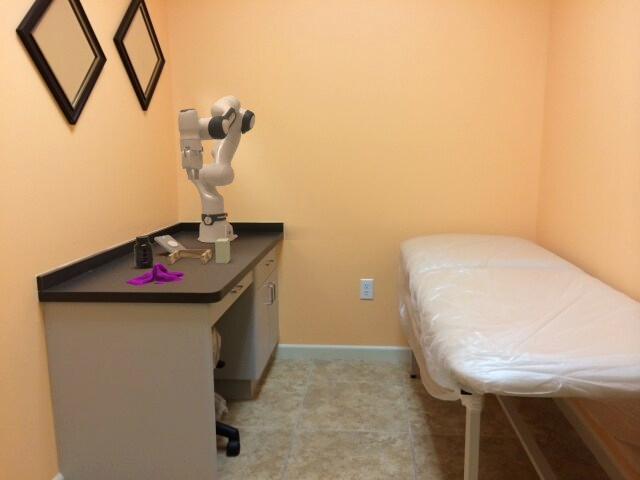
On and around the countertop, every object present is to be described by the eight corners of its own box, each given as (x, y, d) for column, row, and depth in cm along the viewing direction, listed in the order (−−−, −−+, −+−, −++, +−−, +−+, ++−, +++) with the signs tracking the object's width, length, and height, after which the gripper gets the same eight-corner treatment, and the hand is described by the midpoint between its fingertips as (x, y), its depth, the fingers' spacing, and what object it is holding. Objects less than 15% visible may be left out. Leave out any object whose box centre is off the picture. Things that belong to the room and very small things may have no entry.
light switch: (176, 253, 213) (154, 235, 218) (172, 264, 215) (151, 246, 220) (191, 250, 220) (169, 233, 225) (187, 261, 222) (165, 243, 228)
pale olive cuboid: (219, 259, 208) (218, 238, 206) (230, 259, 208) (229, 238, 206) (216, 263, 201) (215, 241, 199) (227, 263, 201) (226, 241, 199)
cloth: (119, 287, 167) (118, 269, 166) (139, 274, 185) (138, 258, 184) (186, 287, 167) (185, 269, 166) (199, 274, 185) (198, 257, 184)
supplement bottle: (134, 265, 198) (132, 235, 196) (152, 264, 200) (150, 234, 198) (135, 269, 191) (133, 238, 189) (154, 267, 194) (152, 237, 192)
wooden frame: (177, 257, 213) (177, 249, 212) (211, 257, 213) (211, 249, 212) (168, 264, 199) (167, 256, 198) (204, 264, 199) (203, 255, 198)
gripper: (191, 145, 202) (194, 179, 204) (204, 148, 222) (206, 179, 224) (176, 146, 202) (179, 180, 204) (190, 149, 223) (192, 180, 224)
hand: (193, 179), depth 214 cm, fingers open, 8 cm apart
